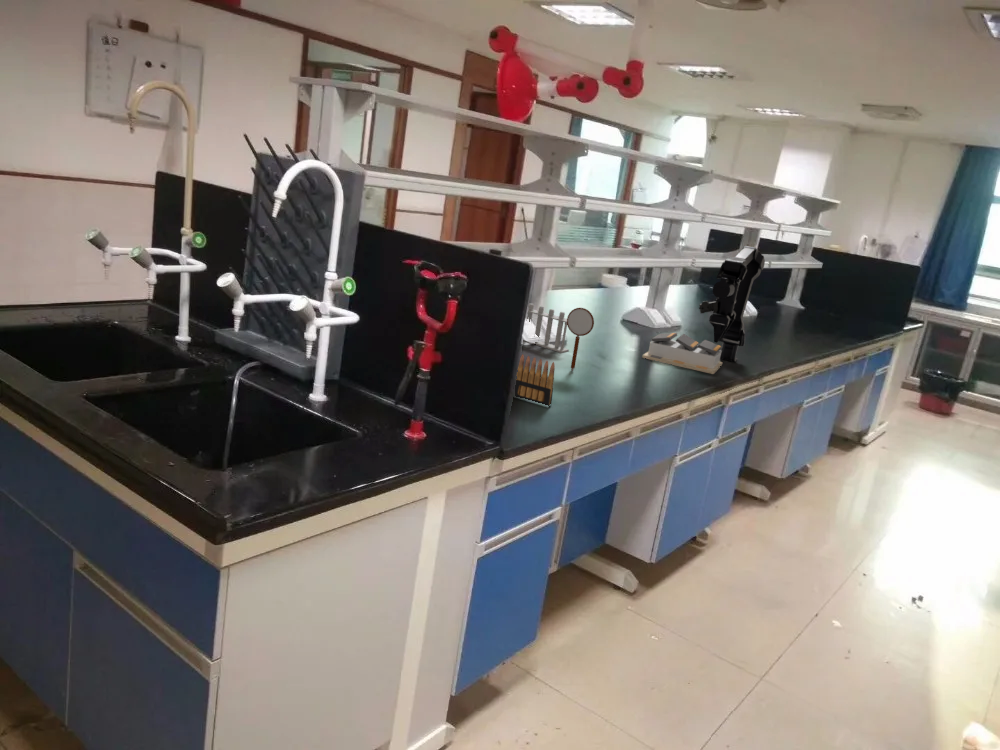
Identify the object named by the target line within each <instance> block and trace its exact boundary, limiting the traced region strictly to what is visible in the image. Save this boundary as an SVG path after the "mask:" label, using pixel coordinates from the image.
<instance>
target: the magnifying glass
mask: <svg viewBox="0 0 1000 750" xmlns="http://www.w3.org/2000/svg"><path fill="white" fill-rule="evenodd" d="M566 319H567V328H568V329H569V331H570V332H571V333H572V334H573V335H575V340H574V346H573V351H572V359H571V365H570V371H571V372H573V371H574V369H575V368H576V362H577V357H578V356H577V355H578V351H579V344H580V338H581V337H583V336H587V335H588V334H590V333H591V332H592V330H593V328H594V325H595V318H594V316H593V314H592V313H591V312H590V311H589V309H586V308H585V307H576V308H574V309H572V310H571V311H570V312H569V313H568V315H567V318H566Z"/></svg>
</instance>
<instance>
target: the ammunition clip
mask: <svg viewBox="0 0 1000 750" xmlns="http://www.w3.org/2000/svg"><path fill="white" fill-rule="evenodd" d="M518 362H519V363H518V367H517V370H518V372H517V371H516V376H517V379H516V378H515V379H516V385H515V396H516V397H520V398H525V399H528V400H532V401H535V402H538V403H542V404H545V405H548V406H549V405H550V404H551V405H552V400H553V392H554V381H555V369H556V368H555V362H554V361H553V362H552V363H551V365H550V368H549V361H548V360H546V361H545V363H544V366H543V360H542V359H541V358H540V359H539V360H538V362H537V359H536V357H533V358H532V361H531V357H530V355H528V356H527V358H526V360H525V356H524V354H523V353H522V355H521V356H520V358H519V361H518ZM537 363H538V364H537ZM536 367H537V368H536ZM542 368H543V370H542Z"/></svg>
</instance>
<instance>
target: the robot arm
mask: <svg viewBox="0 0 1000 750" xmlns="http://www.w3.org/2000/svg"><path fill="white" fill-rule="evenodd" d="M765 260H766V259H765V256H764V255H763V254H762V253H761V252H760V251H759V248H757V247H754V246H750V245H749V246H747V245H745V246H742V249H741V250H740V252H738V253H737V254H736V255H735V256H734V257H733V256H732V257H731V256H730V257H727V258H726V259H725V260H723V262H722V263H721V266H720V268H719V271H718V273H717V275H716V279H720V281H718V282H716V283H715V284H714V285H713V287H712V294H713V295H714V297H715V298H716V299H715V301H709V300H706V301H705V300H704V301H702V303H700V304H699V307H698V309H699V312H700V314H705V313H709V312H710V313H712V312H713V313H712V314H711V315H709V319H708V321H709V324H711V326H712V327H713V343H715V344H718V342H720V343H721V342H722V344H721V346H722V348H721V349H720V350H721V351H722V352H721V356H720V360H724V361H728V362H732V363H735V362H736V361H737V360H738V357H737V353H738V348H739V347H745V344H746V332H745V331H746V330H745V327H746V325H745V323H744V321H743V318H744V314H745V311H746V307H747V304H748V300H749V296H750V293H751V291H752V287H753V283H754V281H755V280H756V279H757V278H759V276H760V275H761V272H762V271H763V270H764V268H765V263H766V262H765Z"/></svg>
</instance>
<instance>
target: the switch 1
mask: <svg viewBox="0 0 1000 750" xmlns="http://www.w3.org/2000/svg"><path fill="white" fill-rule="evenodd" d="M677 336H678V333H677V332H669V333H659V334H657V335H656V336H654V337H652V338H651V342H652V341H670V340H674V338H676V337H677Z"/></svg>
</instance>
